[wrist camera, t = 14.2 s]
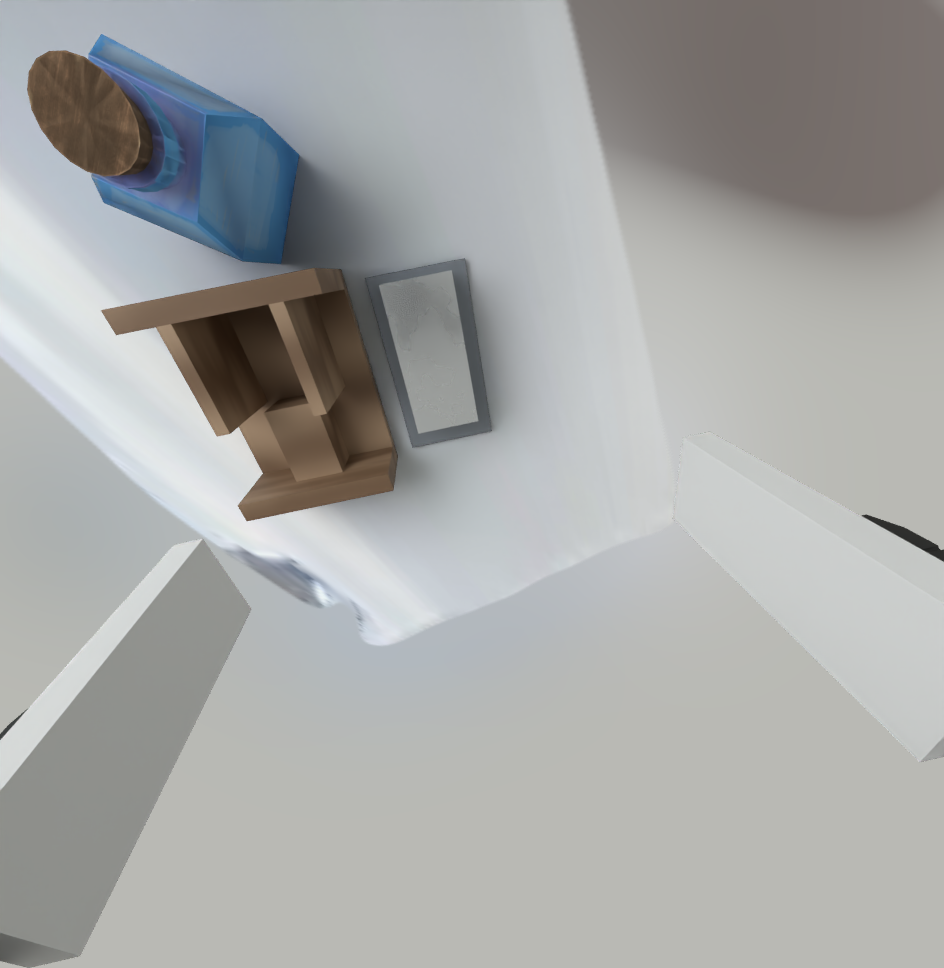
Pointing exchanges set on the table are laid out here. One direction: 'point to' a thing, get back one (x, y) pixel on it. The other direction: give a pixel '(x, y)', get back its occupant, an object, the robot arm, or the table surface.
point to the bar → (431, 349)
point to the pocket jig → (281, 383)
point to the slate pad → (470, 345)
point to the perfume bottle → (168, 148)
